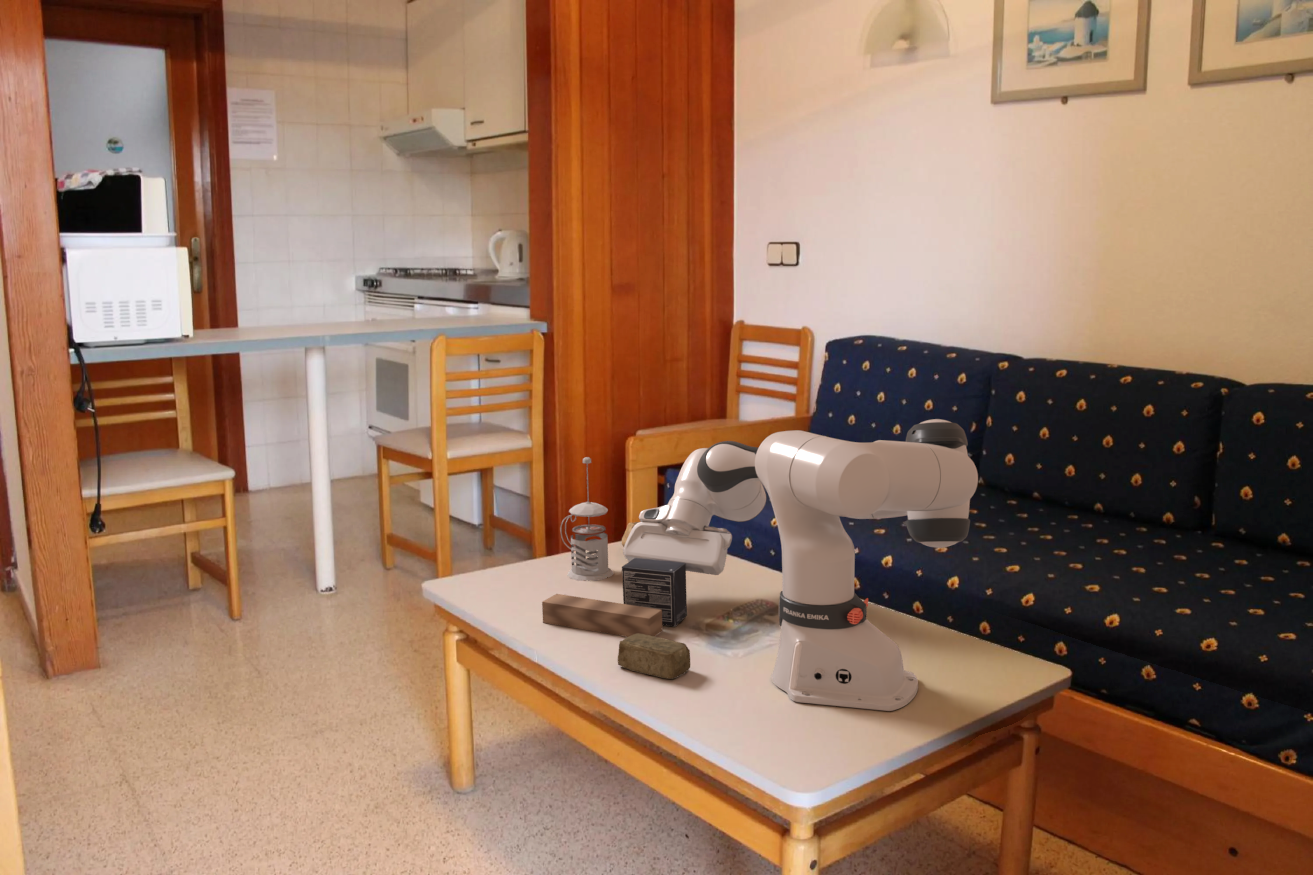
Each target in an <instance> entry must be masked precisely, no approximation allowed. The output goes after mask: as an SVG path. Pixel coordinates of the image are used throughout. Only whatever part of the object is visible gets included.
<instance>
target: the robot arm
mask: <svg viewBox="0 0 1313 875" xmlns="http://www.w3.org/2000/svg"><path fill="white" fill-rule="evenodd" d="M968 445H969V444H968V439H967V435H966V432H965V430H964V429H963V428H962V427H961V426H960V424H958V423H957V422H951V421H949V420H946V419H940V418H935V419H933V418H932V419H928V420H924V421H921V422H920V423H917V424H914V425H913V426H911V427H910V429H909V430H908V431H907V433H906V436H905V441H899V440H885V439H884V440H881V439H878V440H875V441H873V442H872V441H871V442H857V441H856V442H855V441H849V440H844V439H839V438H834V437H831V436H830V437H829V436H825V435H821V434H817V433H813V432H808V431H804V430H801V429H800V430H798V429H797V430H785V431H784V430H783V431H777V432H774V433H771V434H770V435H768V436H767V437H765V439H764V440H763V441H762V442H761V443H760V445H759V447H756V446H752V445H751V446H750V445H747V444H745V443H741V442H739V441H738V442H737V441H734V440H725V441H719V442H716V443H714V444H712V445H710V446H709V447H703V448H701V447H700V448H698V449H695V450H693V451H692V452H691V453H690V454H689V455H688V456H687V458H686V459H685V461H684V463H683V464H682V466H681V469H680V471H679V473H678V476H677V477H676V481H675V484H674V493H673V495H672V496H671V498H670V499H669V501H668V503H667V504H665V505H661V506H659V507H653V508H648V509H644V510H641V511H640V513H639V516H638V518H639V519H638V520H639V521H638V522H639V523H637V524H636V525H635V526H634V527H633V528H632V530H631V532H630V534H629V536H628V538H627V541H626V543H625V546H624V547H623V549H622V551H623V552H622V553H623V555H624V557H625V559H627V561H628V562H630V561H631V560H632V559H634V558H642V559H652V560H662V561H673V562H683V563H686V572H690V573H691V572H692V573H697V574H698V573H699V574H704V575H714V576H719V575H720V574H721V573H723V571H724V569H725V566H726V561H727V555H728V549H729V548H730V546H731V544H732V540H733V535H732V533H731V532H730V531H729V530H728V529H727V528H725V527H715V526H710V522H711V519H712V517H713V516H716V517H718V518H720V519H723V520H727V521H732V522H736V523H744V522H749V521H751V520H753V519H754V518H756V517H757V516H759V515H760V514H761V513H762V512H763V510H764V508H765V506H766V504H767V499H768V498H769V500H770V504H771V506H772V510H773V514H774V517H775V521H776V523H777V530H778V534H779V538H780V545H781V567H782V568H781V569H782V570H781V572H782V573H781V574H782V576H781V577H782V579H781V580H782V587H781V588H782V590H781V591H780V592H779V599H778V600H779V601H778V618H779V620H778V621H779V626H780V636H779V644H778V650H777V655H776V659H775V664H774V667H773V670H772V673H771V681H772V682H773V684H774V685H775V686H776V687H778V688H779V689H780V690H782V691H784V692H786V693H787V694H788V697H789V698H790V700H792V701H793V702H796V703H805V704H814V705H822V706H823V705H825V706H833V707H836V706H837V707H845V708H855V709H865V710H875V711H885V712H886V711H887V712H890V711H891V712H892V711H895V710H898V709H901V708H903V707H905V706H907V705H908V704H909V703H910V702H912V701H913V700H914V698H915V696H916V695H917V692H918V690H919V680H918V677H917V675H916V674H915V673H914V672H912V671H909V670H905V669H904V663H903V656H902V652H901V649H900V647H899V646H898V645H899V644H897V643H896V642H895V641H894V640H893V639H891V638H890V637H889V636H888V635H886V634H885V633H884V632H882V631H881V630H880V629H879V628H878V627H877V626H876V625H874V624H873V623H871V622H870V621H869V620H868V619H867V614H868V613H867V612H868V611H867V608H868V606H869V598H868V597H867V598H865V599H864V600H862V599H861V598H860V596H858V595H857V594H856V593H855V566H856V565H855V561H856V560H855V559H856V555H855V554H856V551H855V546H854V543H853V540H852V538H851V537H850V536H849V534H848V533H847V532H846V529H845V528H844V526H843V523H842V521H841V518H840V517H843V518H844V517H846V518H849V519H857V520H858V519H859V520H866V519H869V520H872V519H873V520H874V519H890V518H891V519H892V518H898V517H905V516H907V519H906V520H905V521H902V523H903V525H904V526H906V528H907V531H908V534H909V536H910V537H911V538H912V540H914V541H915V542H916V543H920V544H922V545H924V546H927V547H930V548H937V549H939V548H947V547H950V546H953V545H956V544H958V543H961V542H963V541H964V540H965V539H966V538H967V537H968V535H969V531H970V524H971V519H970V518H969V515H970V504H971V503H970V502H971V499H972V497H973V496H974V494H975V493H976V491H977V488H978V483H979V473H978V469H977V467H976V465H975V462H974V461H973V459H971V457H970V456H968V455H969V454H968V449H967V447H968ZM766 492H767V493H766ZM767 494H768V498H767Z"/></svg>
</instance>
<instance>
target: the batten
mask: <svg viewBox="0 0 1313 875" xmlns="http://www.w3.org/2000/svg"><path fill="white" fill-rule="evenodd" d="M541 603H542V604H541V605H542V606H541V607H542V609H541V610H542V623H543V624H549V625H555V626H561V627H568V628H573V629H578V630H585V631H592V632H597V633H604V634H608V635H609V634H610V635H616V636H622V637H625V638H627V637H629V636H632V635H634V634H638V633H639V634H645V635H650V636H654V637H657V636H658V635H659V634H661V633H662V632H663V625H662V610H660V609H654V608H647V607H641V606H634V605H627V604H624V603H622V602H621V603H619V602H613V601H606V600H600V599H593V598H588V597H587V598H586V597H580V596H573V595H567V594H561V593H560V594H559V593H556V594H554V595H552V596H550V597H548V598H546V599H545V600H542V602H541Z"/></svg>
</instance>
